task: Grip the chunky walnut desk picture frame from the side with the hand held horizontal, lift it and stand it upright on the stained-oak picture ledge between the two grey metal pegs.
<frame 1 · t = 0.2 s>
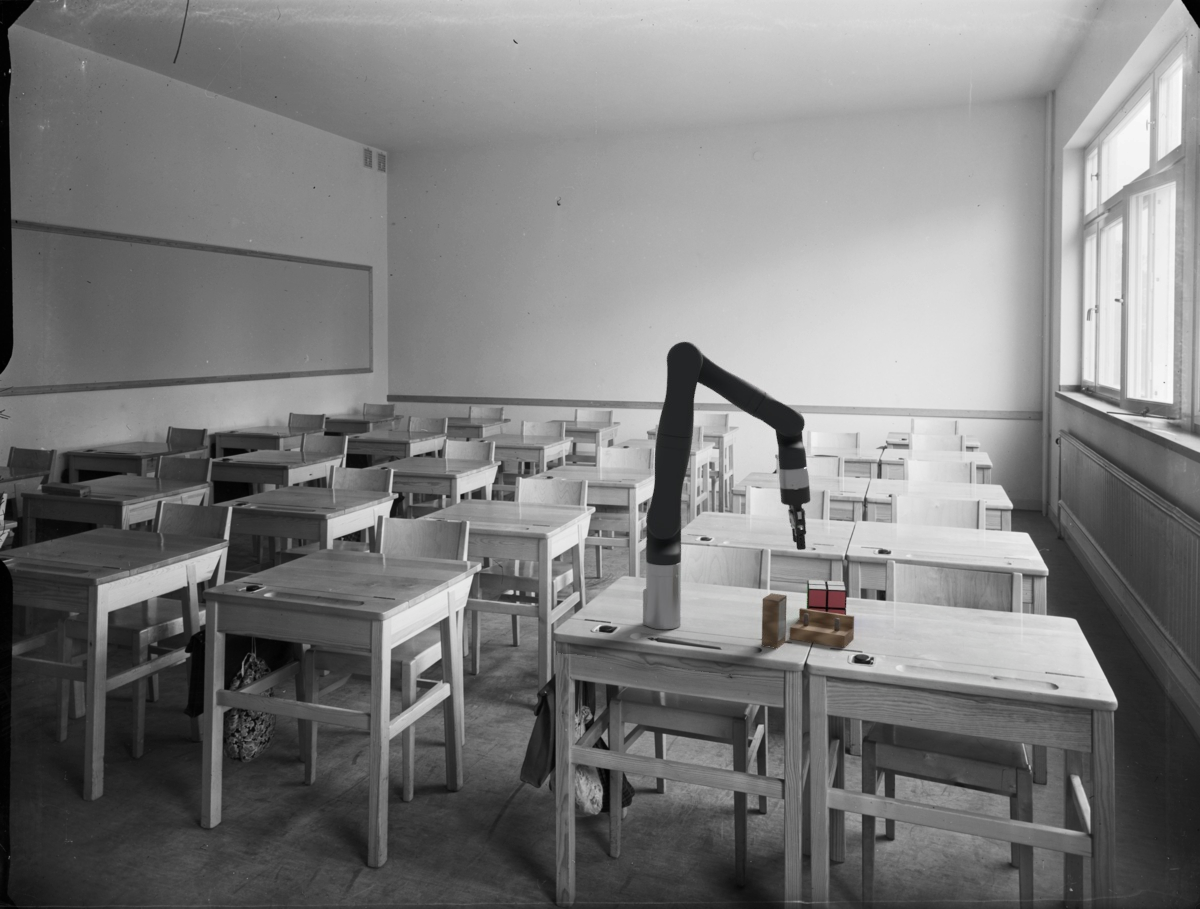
hand: (799, 545, 241), 22 cm above the table, tool pointing down, fingers open, 8 cm apart
puzzle cube: (825, 621, 249), on the table
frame: (773, 643, 229), on the table
ledge: (821, 638, 233), on the table
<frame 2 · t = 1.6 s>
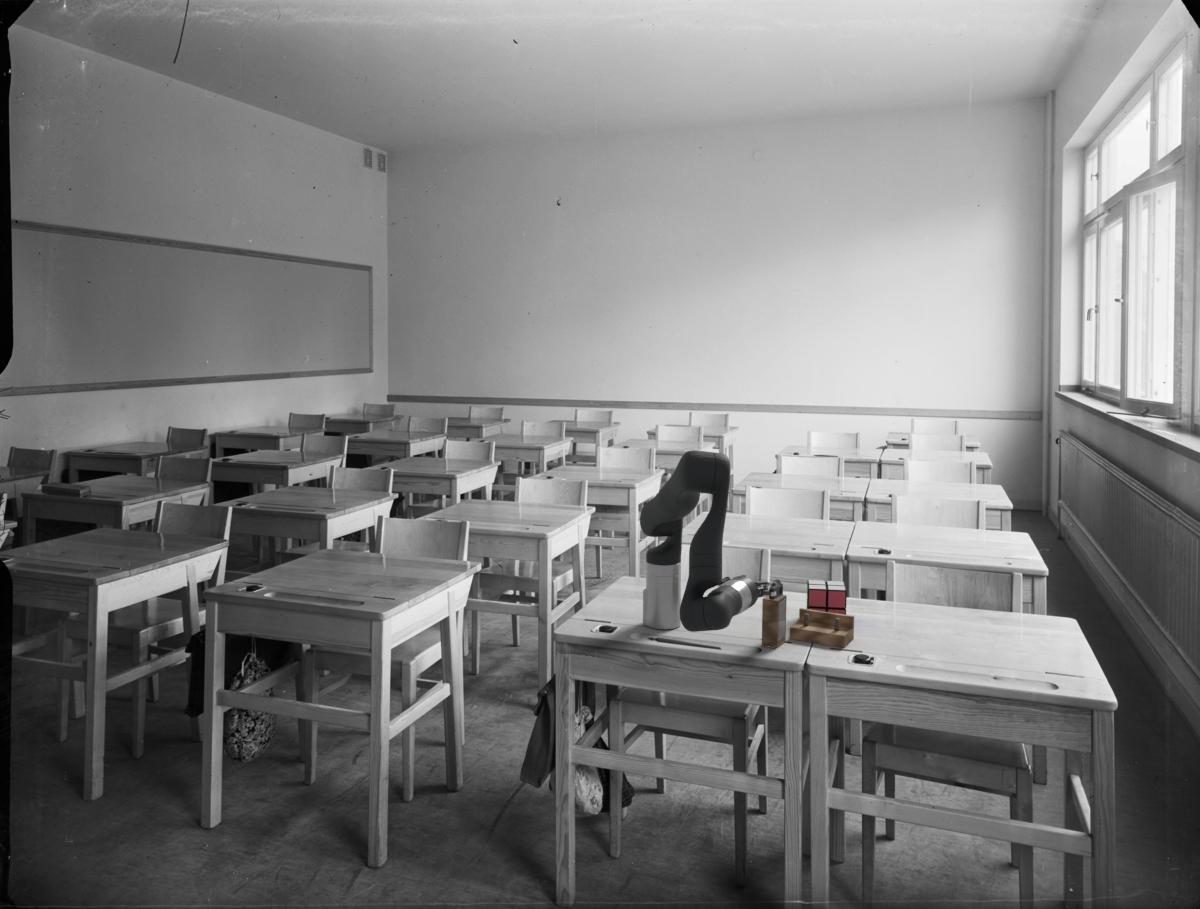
hand: (761, 581, 219), 18 cm above the table, tool horizontal, fingers open, 8 cm apart
nothing on the table moved.
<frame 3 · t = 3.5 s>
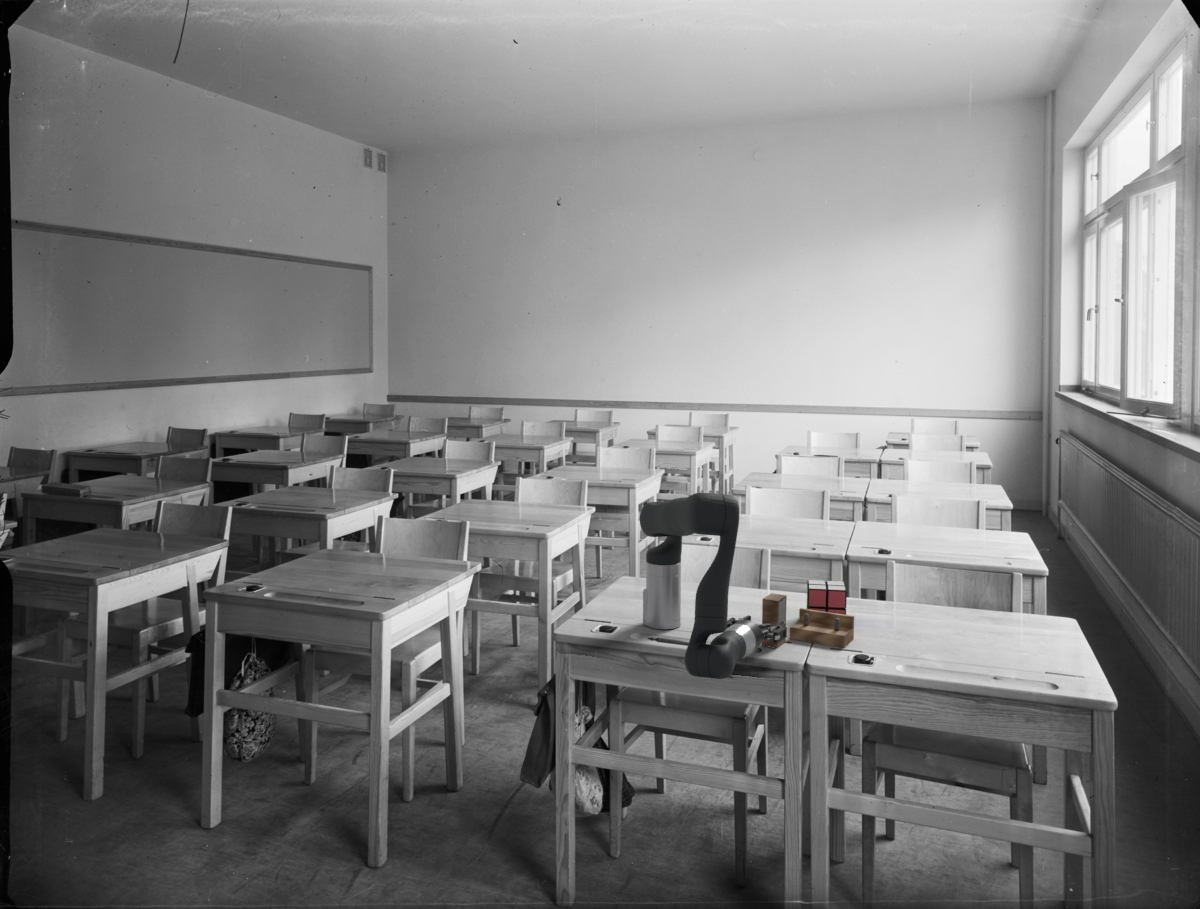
hand: (766, 622, 224), 7 cm above the table, tool horizontal, fingers open, 8 cm apart
nothing on the table moved.
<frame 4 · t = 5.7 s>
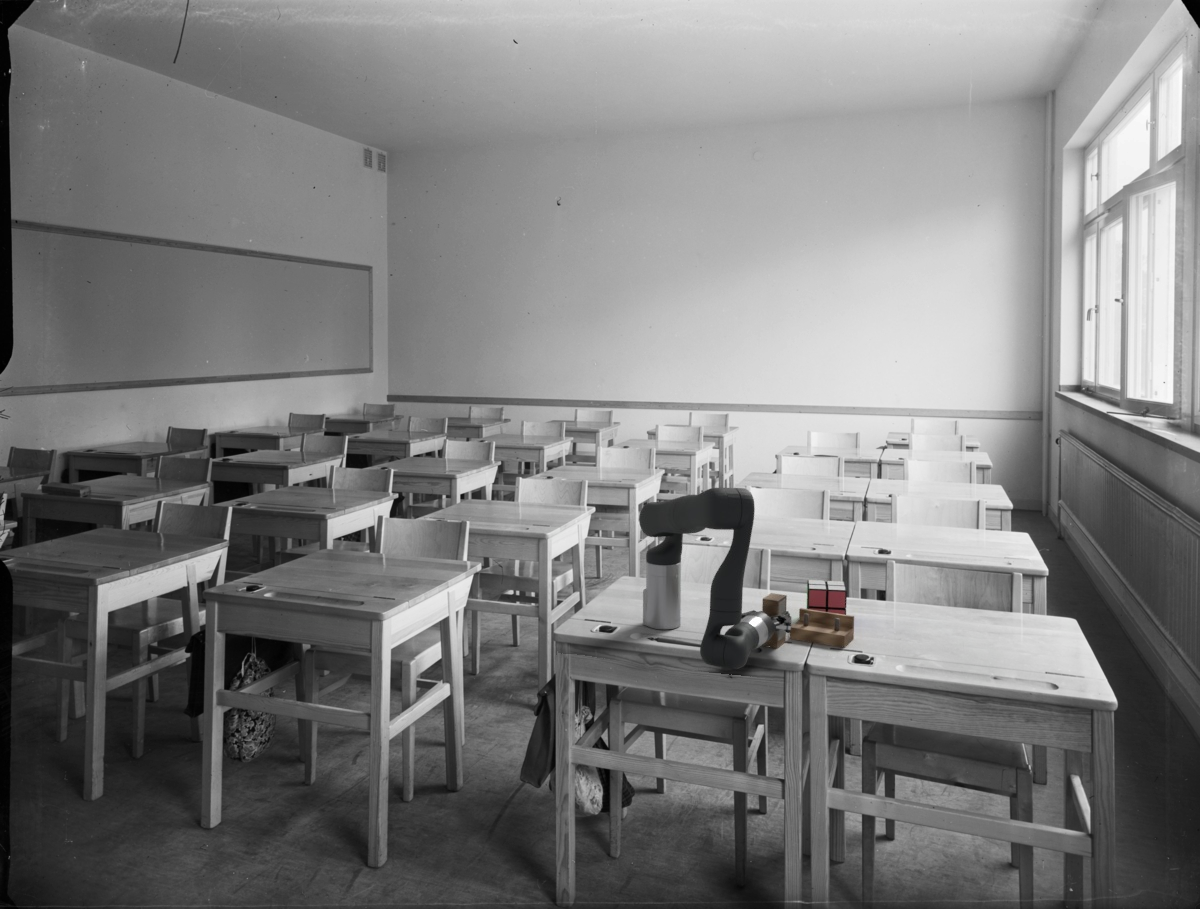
hand: (778, 613, 231), 7 cm above the table, tool horizontal, fingers closed on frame, 4 cm apart
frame: (773, 643, 229), on the table, touching gripper
everything else where it was.
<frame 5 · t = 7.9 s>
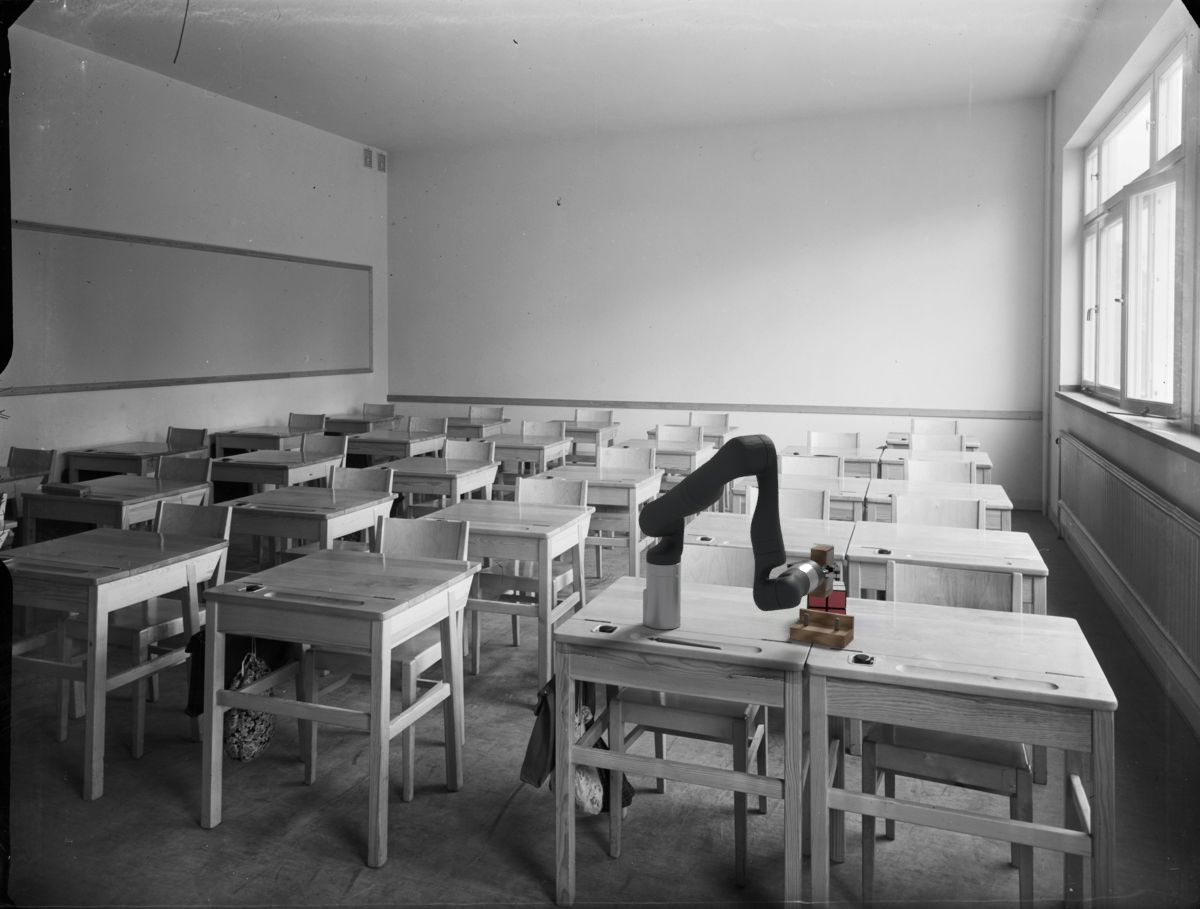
hand: (825, 564, 232), 19 cm above the table, tool horizontal, fingers closed on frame, 4 cm apart
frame: (821, 594, 231), point 12 cm above the table, touching gripper
everything else where it was.
when the fingers open (11 cm above the table, at t = 10.1 s): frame drops 1 cm, resting on ledge.
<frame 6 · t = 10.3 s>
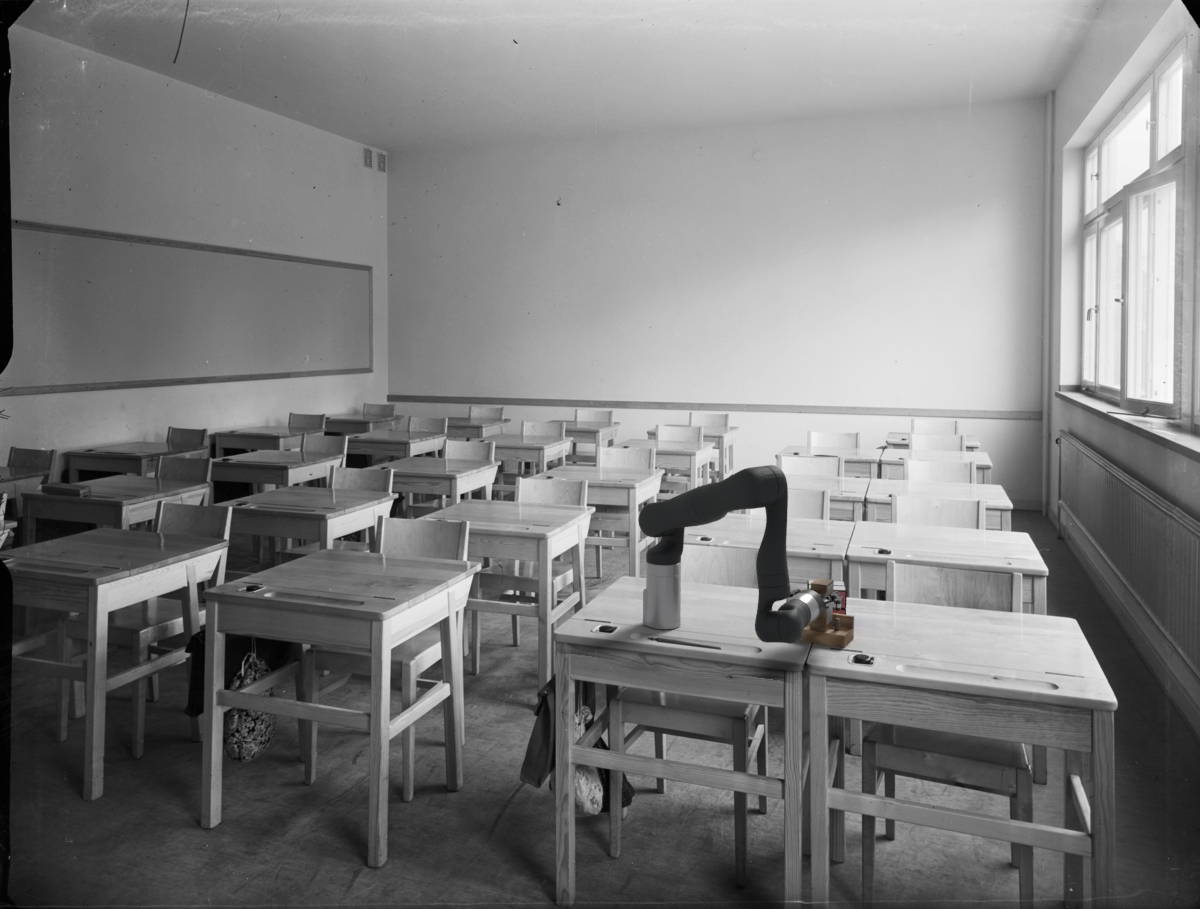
hand: (825, 592, 233), 11 cm above the table, tool horizontal, fingers open, 5 cm apart
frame: (821, 627, 232), point 3 cm above the table, touching ledge
everything else where it was.
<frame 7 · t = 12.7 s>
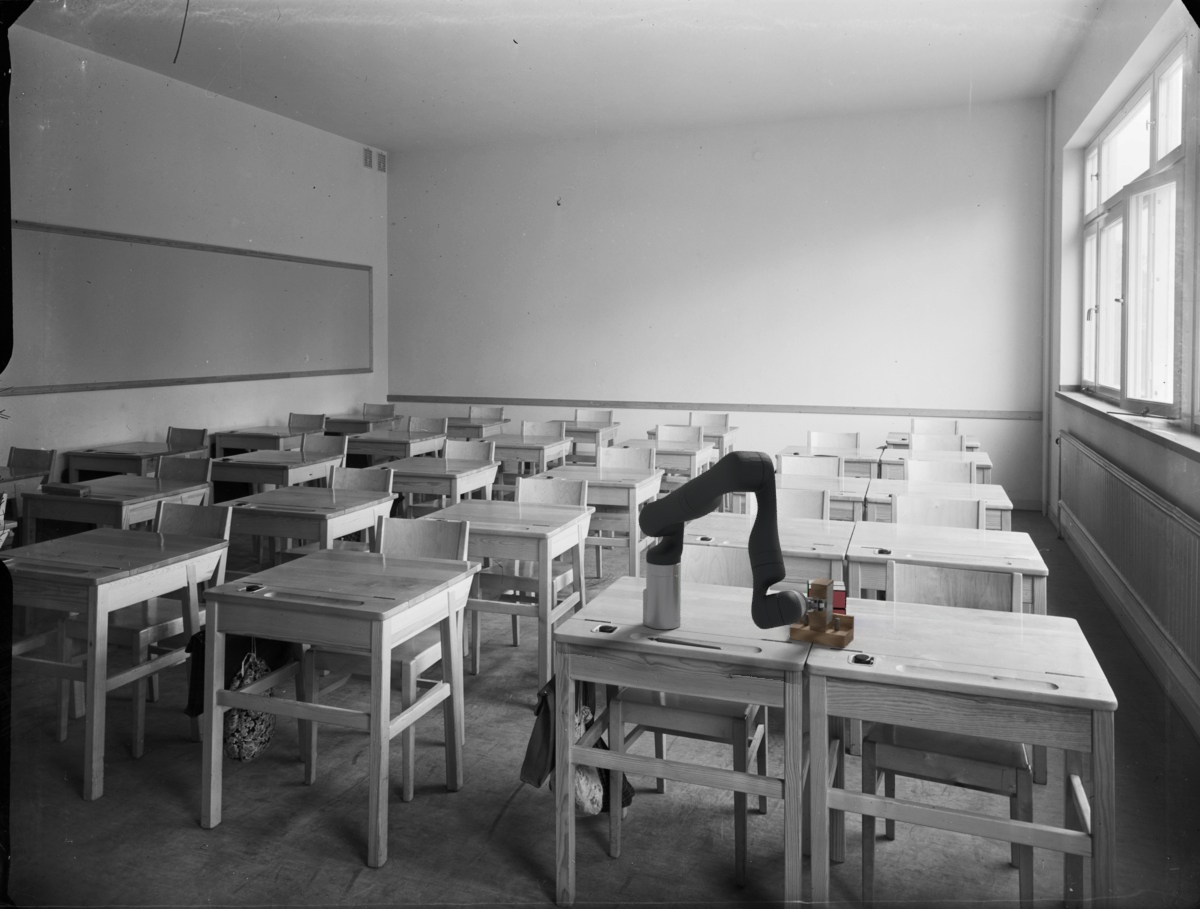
hand: (799, 602, 225), 11 cm above the table, tool horizontal, fingers open, 8 cm apart
nothing on the table moved.
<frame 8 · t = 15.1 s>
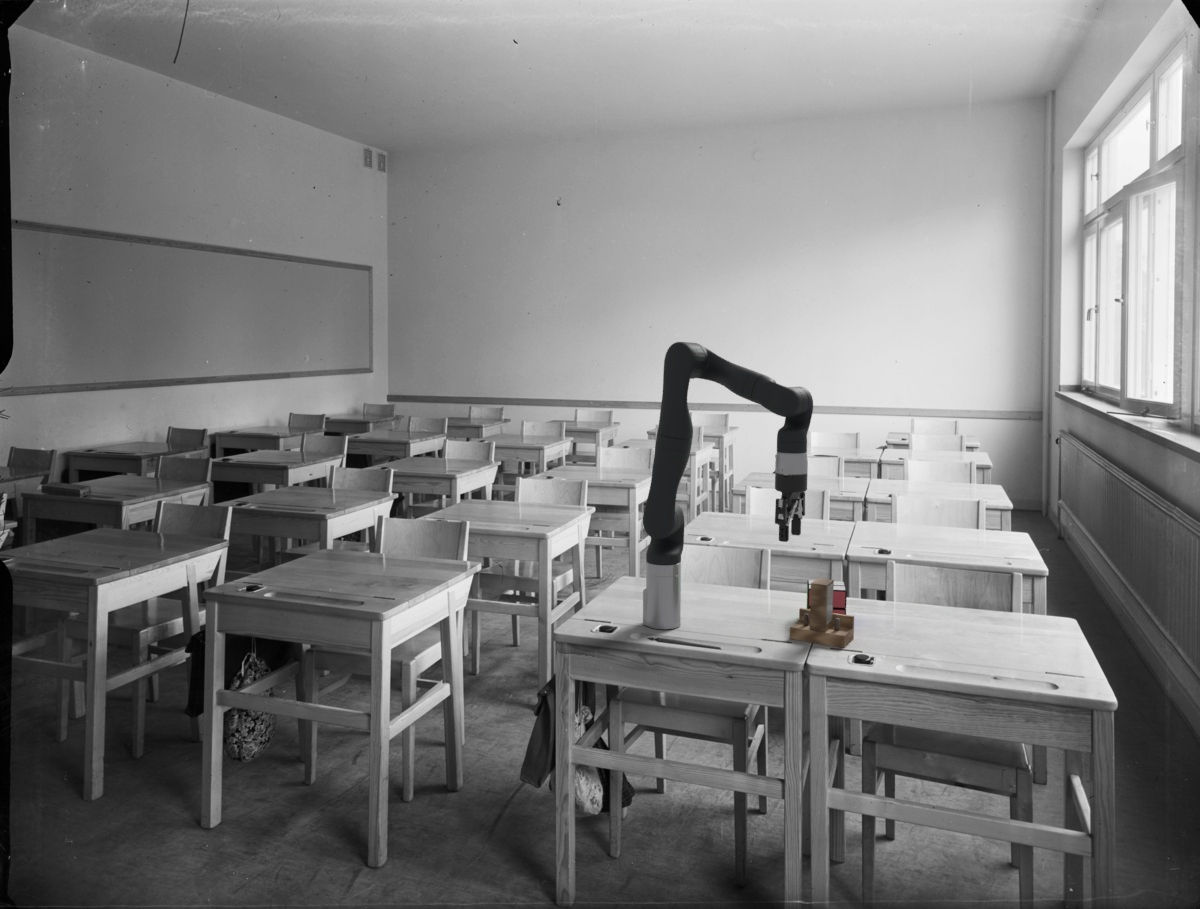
hand: (789, 538, 220), 28 cm above the table, tool pointing down, fingers open, 8 cm apart
nothing on the table moved.
at the end: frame 0.1 cm from the target spot, point 3.0 cm above the table; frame tilted 0°; the gripper is holding nothing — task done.
